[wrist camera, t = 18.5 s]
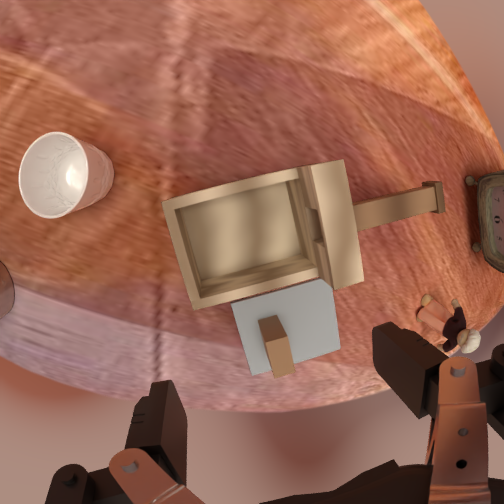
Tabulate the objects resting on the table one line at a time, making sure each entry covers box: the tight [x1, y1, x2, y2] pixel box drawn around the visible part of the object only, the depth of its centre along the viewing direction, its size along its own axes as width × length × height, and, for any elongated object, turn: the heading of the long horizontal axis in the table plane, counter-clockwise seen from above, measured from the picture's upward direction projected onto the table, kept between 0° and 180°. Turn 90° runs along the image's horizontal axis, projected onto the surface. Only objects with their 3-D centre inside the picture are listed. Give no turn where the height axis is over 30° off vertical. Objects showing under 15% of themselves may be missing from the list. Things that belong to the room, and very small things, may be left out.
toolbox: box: [161, 159, 364, 311], centre depth 31 cm, size 16×11×11 cm
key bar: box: [352, 181, 446, 232], centre depth 29 cm, size 12×3×2 cm, turn 104°
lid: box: [231, 278, 341, 378], centre depth 38 cm, size 13×11×7 cm
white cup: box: [19, 132, 114, 218], centre depth 28 cm, size 8×8×10 cm
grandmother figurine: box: [417, 294, 481, 353], centre depth 37 cm, size 8×4×13 cm, turn 1°
